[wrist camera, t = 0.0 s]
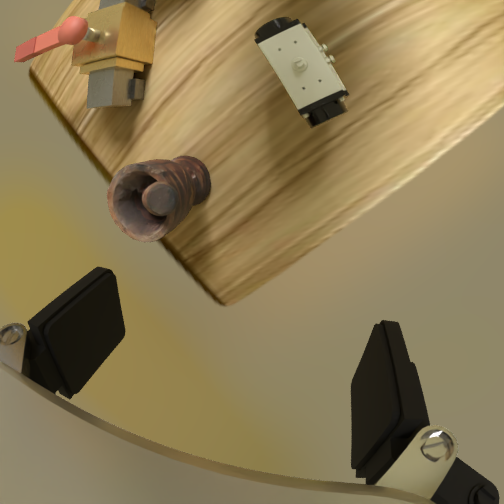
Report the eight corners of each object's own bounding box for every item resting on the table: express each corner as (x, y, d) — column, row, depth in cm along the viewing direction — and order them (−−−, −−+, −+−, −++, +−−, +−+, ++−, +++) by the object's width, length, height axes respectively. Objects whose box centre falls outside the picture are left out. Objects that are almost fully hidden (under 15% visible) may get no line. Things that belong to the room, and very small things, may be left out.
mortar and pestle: (206, 124, 37) (115, 128, 20) (246, 172, 39) (183, 214, 21) (151, 176, 42) (54, 217, 24) (186, 221, 44) (105, 286, 26)
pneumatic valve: (310, 129, 35) (307, 129, 24) (265, 54, 32) (244, 25, 21) (349, 112, 33) (363, 104, 22) (303, 36, 30) (296, 0, 19)
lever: (91, 15, 22) (80, 12, 20) (86, 41, 24) (75, 39, 22) (26, 43, 24) (16, 43, 22) (22, 65, 26) (13, 65, 24)
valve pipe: (120, -1, 31) (72, -21, 20) (163, -12, 29) (118, -41, 18) (107, 108, 39) (51, 111, 28) (148, 105, 38) (94, 103, 27)
